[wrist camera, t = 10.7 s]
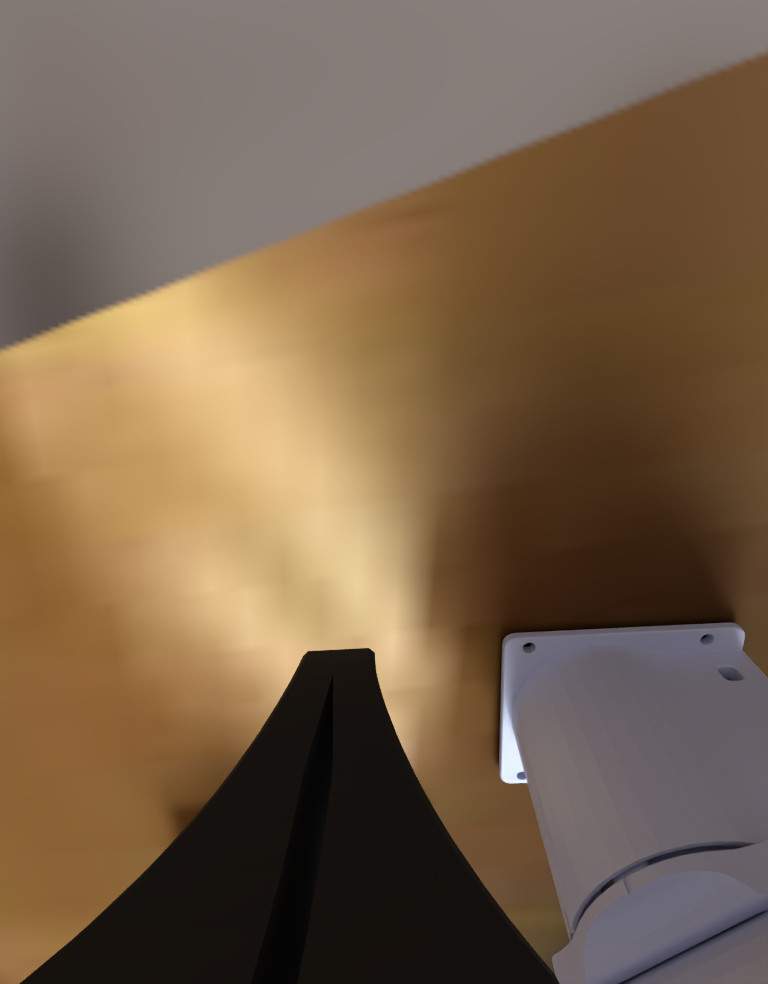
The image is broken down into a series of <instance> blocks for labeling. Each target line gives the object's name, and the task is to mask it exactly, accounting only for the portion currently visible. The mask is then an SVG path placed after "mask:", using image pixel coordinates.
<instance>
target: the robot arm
mask: <svg viewBox="0 0 768 984" xmlns="http://www.w3.org/2000/svg"><path fill="white" fill-rule="evenodd" d="M706 634H708V635H707V636H706V637H705V638H702V637H703V636H704V635H706ZM701 638H702V639H701ZM744 639H745V632H744V631H743V629H742V628H741V627H740V626H739V625H737V624H736V623H710V624H689V625H669V626H648V627H627V628H606V629H586V630H565V631H544V632H524V633H512V634H509V635H507V636H506V637H505V638H504V639H503V643H502V669H501V706H500V744H499V773H500V777H501V779H502V780H503V781H504V782H506V783H527V784H528V787H529V791H530V795H531V799H532V802H533V806H534V810H535V813H536V817H537V821H538V824H539V828H540V832H541V836H542V839H543V843H544V847H545V850H546V854H547V858H548V862H549V865H550V869H551V873H552V876H553V880H554V884H555V887H556V891H557V895H558V899H559V902H560V906H561V910H562V913H563V917H564V921H565V925H566V928H567V932H568V936H569V939H570V943H569V944H568V945H567V946H566V947H565V948H564V949H563V950H561V951H560V952H558V953H557V954H555V955H554V956H553V957H552V962H553V966H554V970H555V974H554V973H553V972H552V971H551V969H550V968H549V967H548V966H547V965H546V963H545V962H544V961H543V960H542V959H541V957H540V956H539V955H538V954H537V953H536V951H535V950H534V949H533V948H532V947H531V946H530V944H529V943H528V942H527V941H526V939H525V938H524V937H523V936H522V934H521V933H520V932H519V931H518V929H517V928H516V927H515V926H514V924H513V923H512V922H511V921H510V919H509V918H508V917H507V915H506V914H505V913H504V911H503V910H502V909H501V907H500V906H499V905H498V903H497V902H496V901H495V899H494V898H493V897H492V895H491V894H490V893H489V891H488V890H487V889H486V888H485V886H484V885H483V883H482V882H481V880H480V879H479V877H478V876H477V874H476V873H475V872H474V870H473V869H472V867H471V866H470V864H469V863H468V861H467V860H466V858H465V857H464V855H463V854H462V852H461V851H460V850H459V848H458V847H457V845H456V844H455V842H454V841H453V839H452V838H451V836H450V835H449V833H448V831H447V830H446V828H445V826H444V825H443V823H442V821H441V820H440V818H439V816H438V815H437V813H436V811H435V810H434V808H433V806H432V804H431V803H430V801H429V799H428V797H427V796H426V794H425V792H424V790H423V788H422V786H421V785H420V783H419V781H418V779H417V777H416V775H415V773H414V771H413V769H412V767H411V765H410V763H409V761H408V758H407V756H406V754H405V752H404V750H403V748H402V746H401V743H400V741H399V739H398V736H397V734H396V732H395V729H394V726H393V724H392V721H391V719H390V716H389V713H388V711H387V708H386V705H385V702H384V699H383V696H382V693H381V689H380V686H379V682H378V678H377V674H376V665H375V653H374V652H373V651H372V650H370V649H369V648H362V649H343V650H325V651H308V652H307V653H306V654H305V655H304V656H303V658H302V660H301V662H300V664H299V666H298V668H297V670H296V672H295V674H294V675H293V677H292V679H291V681H290V683H289V685H288V686H287V688H286V690H285V692H284V693H283V695H282V697H281V698H280V700H279V702H278V704H277V705H276V707H275V708H274V710H273V712H272V713H271V715H270V716H269V718H268V719H267V721H266V723H265V724H264V726H263V727H262V729H261V731H260V732H259V734H258V735H257V737H256V738H255V740H254V741H253V742H252V744H251V745H250V747H249V748H248V749H247V751H246V752H245V754H244V755H243V756H242V758H241V759H240V761H239V762H238V763H237V765H236V766H235V768H234V769H233V770H232V772H231V773H230V774H229V776H228V777H227V778H226V780H225V781H224V782H223V784H222V785H221V786H220V787H219V789H218V790H217V791H216V792H215V794H214V795H213V796H212V797H211V799H210V800H209V801H208V802H207V803H206V805H205V806H204V807H203V808H202V809H201V811H200V812H199V813H198V814H197V815H196V817H195V818H194V819H193V820H192V821H191V822H190V824H189V825H188V826H187V827H186V828H185V829H184V830H183V831H182V832H181V833H180V834H179V836H178V837H177V838H176V839H175V840H174V841H173V842H172V843H171V844H170V845H169V847H168V848H167V849H166V850H165V851H164V852H163V853H162V854H161V855H160V856H159V857H158V858H157V859H156V860H155V862H154V863H153V864H152V865H151V866H150V867H149V868H148V869H147V870H146V871H145V872H144V873H143V874H142V875H141V876H140V877H139V878H138V879H137V880H136V881H135V882H133V883H132V884H131V885H130V886H129V887H128V888H127V889H126V890H125V891H124V892H123V893H122V894H121V895H120V896H119V897H118V898H117V899H116V900H115V901H114V902H112V903H111V904H110V905H109V906H108V907H107V908H106V909H105V910H104V911H103V912H102V913H101V914H100V915H99V916H98V917H97V918H96V919H95V920H94V921H92V922H91V923H90V924H89V925H88V926H87V927H86V928H85V929H84V930H83V931H81V932H80V933H79V934H78V935H77V936H76V937H75V938H74V939H72V940H71V941H70V942H69V943H68V944H66V945H65V946H64V947H63V948H62V949H61V950H59V951H58V952H57V953H56V954H55V955H53V956H52V957H51V958H50V959H49V960H47V961H46V962H45V963H44V964H43V965H41V966H40V967H39V968H38V969H37V970H35V971H34V972H33V973H32V974H31V975H29V976H28V977H27V978H26V979H25V980H23V981H22V982H21V983H20V984H768V678H767V677H766V676H765V675H764V674H763V672H762V671H761V670H760V669H759V668H758V667H757V666H756V665H755V664H754V662H753V661H752V660H751V659H750V658H749V657H748V656H747V655H746V654H745V652H744V651H743V650H742V648H743V643H744ZM526 643H533V644H532V645H531V646H529V647H523V645H525V644H526ZM522 771H524V772H522ZM555 975H556V976H555Z"/></svg>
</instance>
